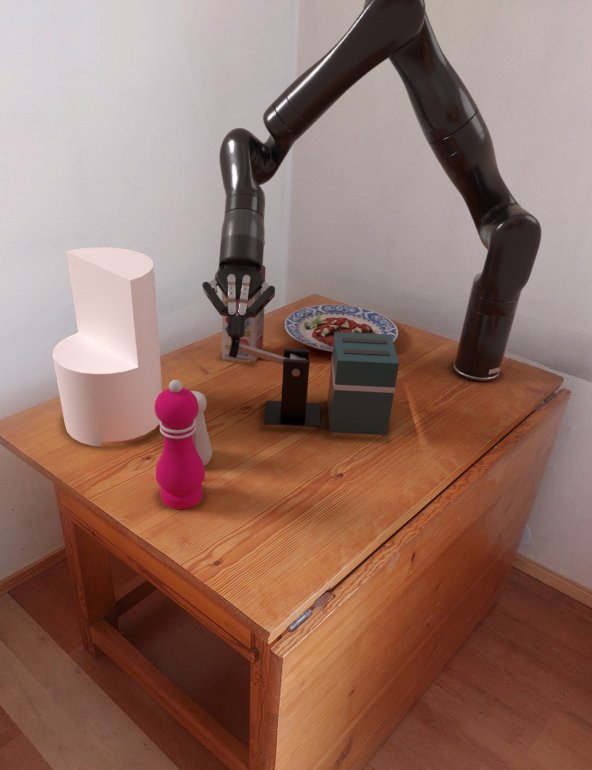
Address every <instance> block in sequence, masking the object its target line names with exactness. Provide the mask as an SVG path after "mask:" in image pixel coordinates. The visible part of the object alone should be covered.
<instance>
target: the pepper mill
mask: <svg viewBox="0 0 592 770" xmlns="http://www.w3.org/2000/svg"><path fill="white" fill-rule="evenodd" d="M191 391H192V390H190V389H188V388H185V387H183V384H182V382H181V381H180V380H178V379H172V380H171V381H169V384H168V388H166V389H163V391H162V392H161V393H160V394H159V395H158V397H157V398H156V401H155V414H156V416H157V418H158V419H159V420H160V423H159V432H160V434H162V436H163V447H162V452H161V455H160V456H159V459H158V461H157V463H156V468H155V479H156V482H157V484H158V485H159V489H160V490H159V491H160V499H161V502H162V503H163V504H164V505H165V506H166V507H169V508H171V509H176V510H184V509H189V508H192V507H195V506H196V505H198V504H199V503H200V502H201V500H202V498H203V485H202V483H203V482H204V481H205V478H206V470H205V466H204V465H203V462H202V459H201V458H200V456H199V454H198V452H197V450H196V448H195V446H194V443H193V433H194V432H195V430H196V426H195V423H196V421H195V418H196V416H197V414H198V410H199V407H198V401H197V398H196V396H195V395H194V394H193V393H192V392H191Z"/></svg>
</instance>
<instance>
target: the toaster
mask: <svg viewBox="0 0 592 770" xmlns="http://www.w3.org/2000/svg"><path fill="white" fill-rule="evenodd" d="M394 343H395V342H393V339H392V336H391V335H388V334H368V333H348V332H334V342H333V352H331V353H332V354H331V358H330V359H331V360H330V361H331V364H330V372H329V373H330V374H329V381H328V392H327V412H328V427H329V433H337V434H338V433H339V434H358V435H359V434H360V435H379V436H388V432H389V426H390V420H391V414H392V408H393V402H394V396H395V393H396V384H397V378H398V373H399V367H400V362H399V358H398V354H397V350H396V347H395V344H394Z"/></svg>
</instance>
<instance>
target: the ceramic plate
mask: <svg viewBox="0 0 592 770" xmlns="http://www.w3.org/2000/svg"><path fill="white" fill-rule="evenodd" d="M284 329H285V331H286V333H287V334H288V335H289V336H290V337H291V338H292V339H293V340H296V341H297V342H299V343H300V344H302V345H305V346H308V347H310V348H312V349H317V350H321V351H325V352H330V353H332V352H333V342H334V332H348V333H368V334H388V335H391V336H392V339H393V343H395V341H396V340H397V339H398V337H399V329H398V327H397V325H396V324H395V323H394V322H393V321H392V320H391V319H390V318H388V317H386V316H385V315H383V314H381V313H379V312H376V311H374V310H371V309H368V308H363V307H359V306H354V305H347V304H318V305H311V306H307V307H303V308H300V309H297V310H296V311H294V312H292V313H291V314H289V315H288V316H287V317H286V319H285V321H284Z"/></svg>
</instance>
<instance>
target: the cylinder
mask: <svg viewBox="0 0 592 770" xmlns="http://www.w3.org/2000/svg"><path fill="white" fill-rule="evenodd" d="M65 254H66V261H67V267H68V273H69V274H68V275H69V281H70V287H71V294H72V300H73V306H74V314H75V320H76V328H77V332H76V333H74V334H71V335H68V336H67V337H64V338H63V339H62V340H59V342H58V343H57V344H56V345H55V346H54V347H53V351H52V359H53V365H54V371H55V372H54V373H55V376H56V383H57V388H58V394H59V399H60V405H61V410H62V416H63V421H64V427H65V429H66V433H67V434H68V435H69V436H70V437H71V438H72V439H73V440H75V441H77V442H79V443H81V444H84V445H88V446H91V447H96V448H97V447H99V448H100V447H101V448H102V446H103V444H104V443H117V442H124V441H129V440H134V439H136V438H140V437H143V436H145V435H147V434H148V433H150V432H152V431H153V430H155V429H156V428H157V427H158V426H160V424H159V423H160V420H159V419H158V418H157V416H156V414H155V401H156V398H157V397H158V395H159V394H160V393H161V392H162V391H164V389H163V378H162V365H161V364H162V363H161V351H160V335H159V322H158V321H159V320H158V309H157V307H158V306H157V295H156V294H157V293H156V281H155V267H154V260H152V258H151V257H149V255H146V254H144V253H142V252H139V251H136V250H133V249H127V248H121V247H109V246H108V247H107V246H105V247H103V246H101V247H99V246H98V247H95V246H94V247H82V248H76V249H70V250H65Z"/></svg>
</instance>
